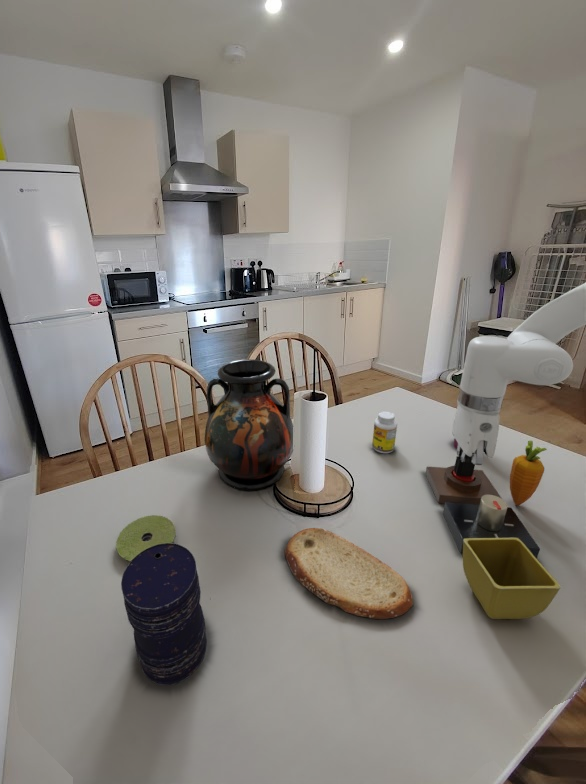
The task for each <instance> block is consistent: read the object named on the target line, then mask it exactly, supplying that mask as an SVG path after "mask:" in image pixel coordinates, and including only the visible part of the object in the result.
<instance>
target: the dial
mask: <svg viewBox="0 0 586 784" xmlns="http://www.w3.org/2000/svg"><path fill="white" fill-rule="evenodd" d="M501 498H502V497H501ZM501 498H499V497H497V496H494V495H483V496H482V497H481V501H480V505H479V509H478V513H477V517H476V521H477V523H478V524H479V525H480V526H481V527H483V528H484V529H487V530H489V531H499V530H501V528H502V525H503V521H504V518H505V514H506V511H507V507H509V506H508V503H507V502H506V500H504V499H503V498H502V499H501Z"/></svg>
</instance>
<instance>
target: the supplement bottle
mask: <svg viewBox="0 0 586 784" xmlns="http://www.w3.org/2000/svg"><path fill="white" fill-rule="evenodd" d="M395 418H396V415H395V414H394V413H392V412H390V411H380V412H379V413H378V415H377V417H376V418H375V420H374V423H373V434H372V445H371V446H372V449H373V450H374V451H376V452H378V453H381V454H389V453H392V452H393V451H395V446H396V445H395V444H396V439H397V431H398V430H397V429H398V423H397V421H396V420H395Z"/></svg>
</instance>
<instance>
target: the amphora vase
mask: <svg viewBox="0 0 586 784" xmlns="http://www.w3.org/2000/svg"><path fill="white" fill-rule="evenodd" d="M276 372H277V371H276V367H275V366H274V365H273V364H272V363H270V362H268V361H265V360H261V359H252V358H250V359H238V360H237V359H236V360H232V361H229V362H226V363H224V364H223V365H221V366H220V367H219V368H218V370H217V376H218V378H217V377H216V378H215V377H214V378H213V379H211V380H210V381H209V382H208V383H207V386H206V404H207V414H208V415H207V416H208V417H207V421H206V424H205V428H204V429H205V430H204V445H205V446H204V447H205V450H206V454H207V457H208V458H209V460H210V461H211V463H212V464H213V465H214V466H215V468H217V469H218V470H217V472H218V476H219V479H220V480H221V481H222V483H223V484H225V485H226V486H228V487H230V488H231V489H234V490H236V491H239V492H244V493H245V492H246V493H251V492H255V493H256V492H260V491H264V490H268V489H269V488H272V487H273V486H275V485H276V484H278V483H279V482H280V481H281V479H282V478H283V477H284V473H285V469H286V468H285V465H286V464H287V462H289V460H290V459H291V457H292V455H293V452H294V449H293V427H294V424H293V420H292V418H291V395H290V394H291V393H290V388H289V385H288V383H287V381H286V380H284V379H282V378H277V377H276V378H273V377H274V376H275V374H276ZM272 378H273V379H272ZM270 379H271V380H270ZM268 380H270V381H269V382H268ZM217 385H218V386H220V387H221V388H222V389H223V392H224V394H223V395H222V396H221V397H220V399H219V400H218V401H217V402H216V404H215V403H214V398H213V387H214V386H217ZM274 386H280V387H281V388H282V390H283V394H284V404H283V402H282V401H281V400H280V399H279V398H278V396H275V394H274V393H272V391H271V390H272V388H273V387H274ZM275 483H276V484H275ZM274 484H275V485H274Z"/></svg>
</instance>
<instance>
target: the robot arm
mask: <svg viewBox="0 0 586 784" xmlns="http://www.w3.org/2000/svg"><path fill="white" fill-rule="evenodd" d="M584 326H586V282H584V283H582V284H580V285H578V286H576V287H574V288H573V289H570V290H568V291H567V292H565V293H563V294H562V295H560V296H558V297H556V298H554V299H553V300H550V301H549V302H547V303H545V304H544V305H542V306H541V307H540V308H538V309H537V310H535V311H534V312H533V313H532V314H531V315H529V316H528V317H527V318H526V319H524V321H523V322H521V323H520V324H519V325H518V326H517V327H516V328H515V329H514V330H513V331H512V332H511V333H509V335H508V336H507V338H504V337H499V336H492V335H491V336H490V335H482V336H476V337H474V338H472V339H471V340H470V341H469V342H468V345H467V348H466V353H465V354H466V355H465V358H464V365H463V369H462V374H461V379H460V385H459V389H458V394H457V399H456V404H457V407H456V410H455V414H454V418H453V422H452V429H451V430H452V431H451V432H452V436H453V439H454V438H455V439H456V441H457V442H458V446H457V449H456V458H455V463H454V466H455V467H454V472H455V473H456V475H457V476H466V477H472V476H473V471H474V470H475V467H476V466H482V465H483V460H484V454H485V456H486V458H487V459H488V458H489V459H492V458H494V456H495V452H496V447H497V442H498V437H499V430H500V413H499V412H501V410H502V407H503V402H504V399H505V395H506V390H507V387H508V382H509V380H511V381H515V382H521V383H524V384H530V385H536V386H552V385H556V384H560V383H561V382H563V381H565V380H567V378H568V377H569V376H571V374H572V372H573V369H574V361H573V359H572V356H571V354H569V353H568V352H567V350H565V349H563V348H562V347H560V345H558V344H557V343H558V342H560V341H561V340H563V338H565V337H566V336H568V335H569V334H571V333H572V332H574V331H576V330H577V329H580V328H581V327H584Z"/></svg>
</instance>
